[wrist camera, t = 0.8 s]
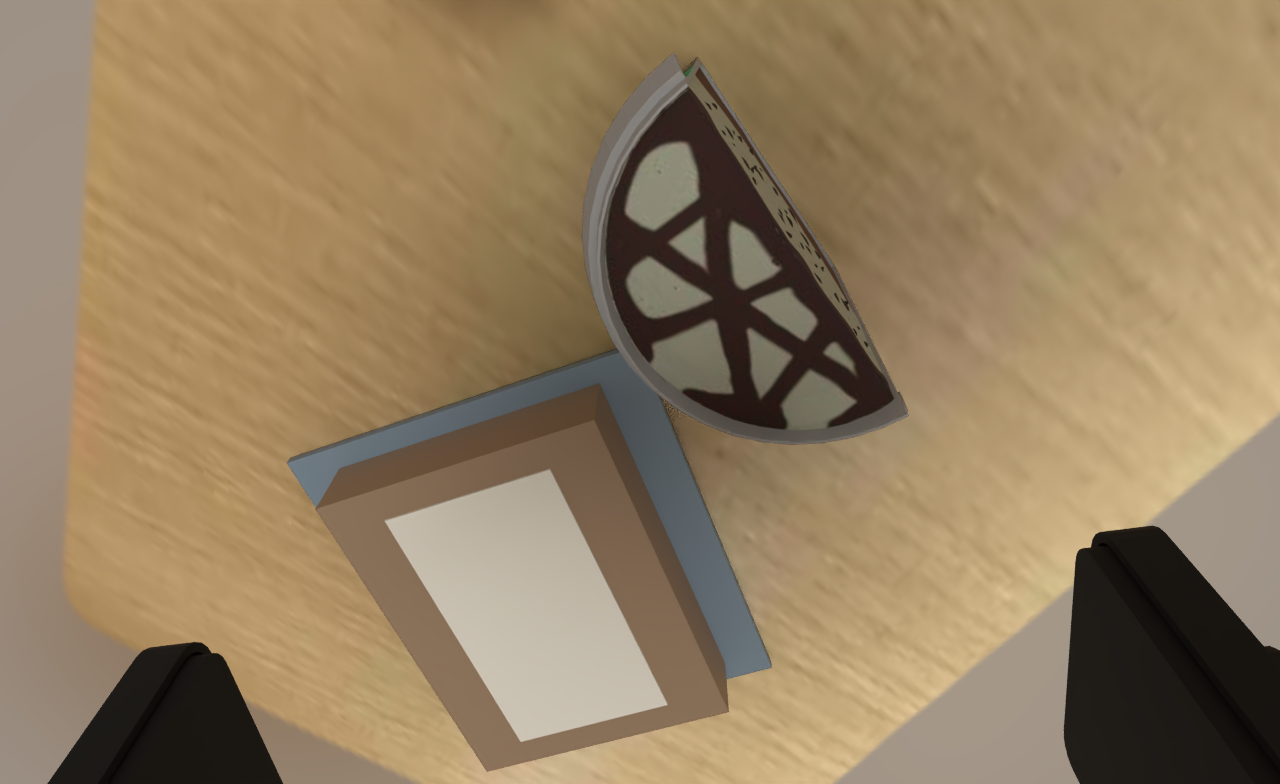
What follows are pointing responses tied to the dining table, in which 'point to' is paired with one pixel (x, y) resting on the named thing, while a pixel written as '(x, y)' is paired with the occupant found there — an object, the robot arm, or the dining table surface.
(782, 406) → the food container
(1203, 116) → the dining table surface
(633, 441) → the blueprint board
